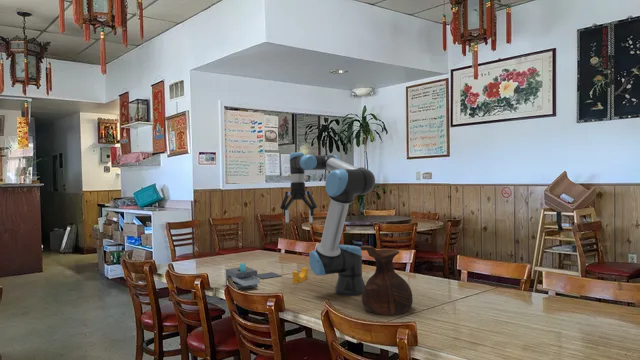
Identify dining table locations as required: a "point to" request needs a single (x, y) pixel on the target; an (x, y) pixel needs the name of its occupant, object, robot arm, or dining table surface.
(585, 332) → the dining table surface
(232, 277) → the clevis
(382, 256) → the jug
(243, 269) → the pin
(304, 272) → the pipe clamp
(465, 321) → the dining table surface
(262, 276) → the mat
